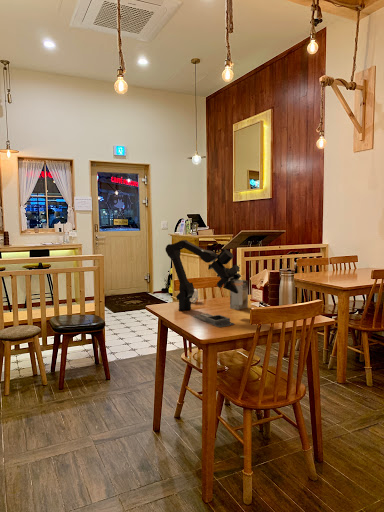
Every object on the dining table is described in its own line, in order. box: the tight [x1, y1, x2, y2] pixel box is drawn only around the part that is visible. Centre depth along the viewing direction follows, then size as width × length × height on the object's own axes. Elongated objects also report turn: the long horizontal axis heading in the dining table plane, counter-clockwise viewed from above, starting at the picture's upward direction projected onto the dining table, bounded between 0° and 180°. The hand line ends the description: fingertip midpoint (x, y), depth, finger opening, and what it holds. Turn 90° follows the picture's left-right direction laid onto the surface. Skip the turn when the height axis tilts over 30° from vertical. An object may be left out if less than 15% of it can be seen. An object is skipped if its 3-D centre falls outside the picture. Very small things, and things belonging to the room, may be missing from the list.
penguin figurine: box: [190, 288, 199, 304], centre depth 236 cm, size 6×8×12 cm
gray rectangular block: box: [231, 279, 244, 306], centre depth 198 cm, size 5×5×13 cm
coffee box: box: [229, 279, 249, 311], centre depth 219 cm, size 9×6×16 cm
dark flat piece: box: [192, 313, 235, 328], centre depth 192 cm, size 24×9×2 cm, turn 31°
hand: (239, 292), depth 197 cm, fingers closed on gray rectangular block, 4 cm apart
